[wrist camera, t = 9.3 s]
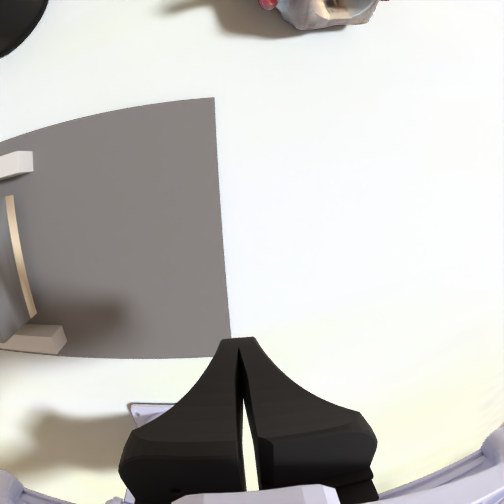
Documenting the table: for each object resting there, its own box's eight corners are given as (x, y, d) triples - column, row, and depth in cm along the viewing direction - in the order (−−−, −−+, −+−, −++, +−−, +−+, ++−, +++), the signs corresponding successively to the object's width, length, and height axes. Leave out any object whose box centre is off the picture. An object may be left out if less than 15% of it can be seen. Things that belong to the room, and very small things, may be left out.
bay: (232, 353, 23) (234, 384, 19) (-42, 341, 21) (-60, 357, 17) (214, 98, 18) (211, 82, 14) (-77, 178, 16) (-101, 182, 12)
